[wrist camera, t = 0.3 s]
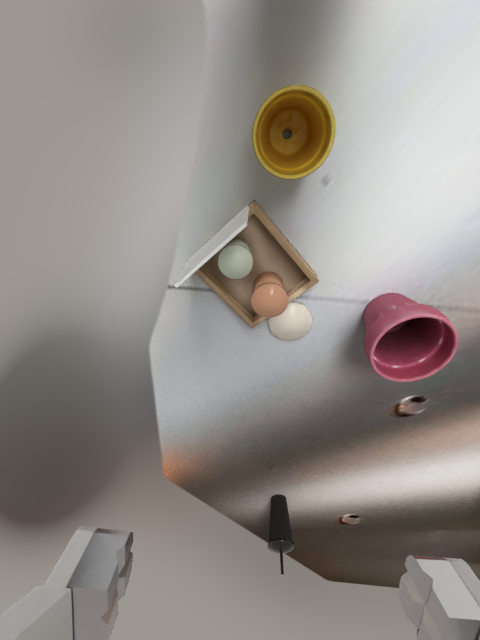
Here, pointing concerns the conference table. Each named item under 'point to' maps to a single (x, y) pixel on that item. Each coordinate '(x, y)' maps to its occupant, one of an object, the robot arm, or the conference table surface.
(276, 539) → the drinking cup
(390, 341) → the plant pot
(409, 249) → the conference table surface
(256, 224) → the brown wooden tray
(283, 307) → the peach mushroom knob
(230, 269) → the sage pot
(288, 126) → the plant pot
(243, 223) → the propped lid
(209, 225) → the conference table surface
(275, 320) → the cream disc
